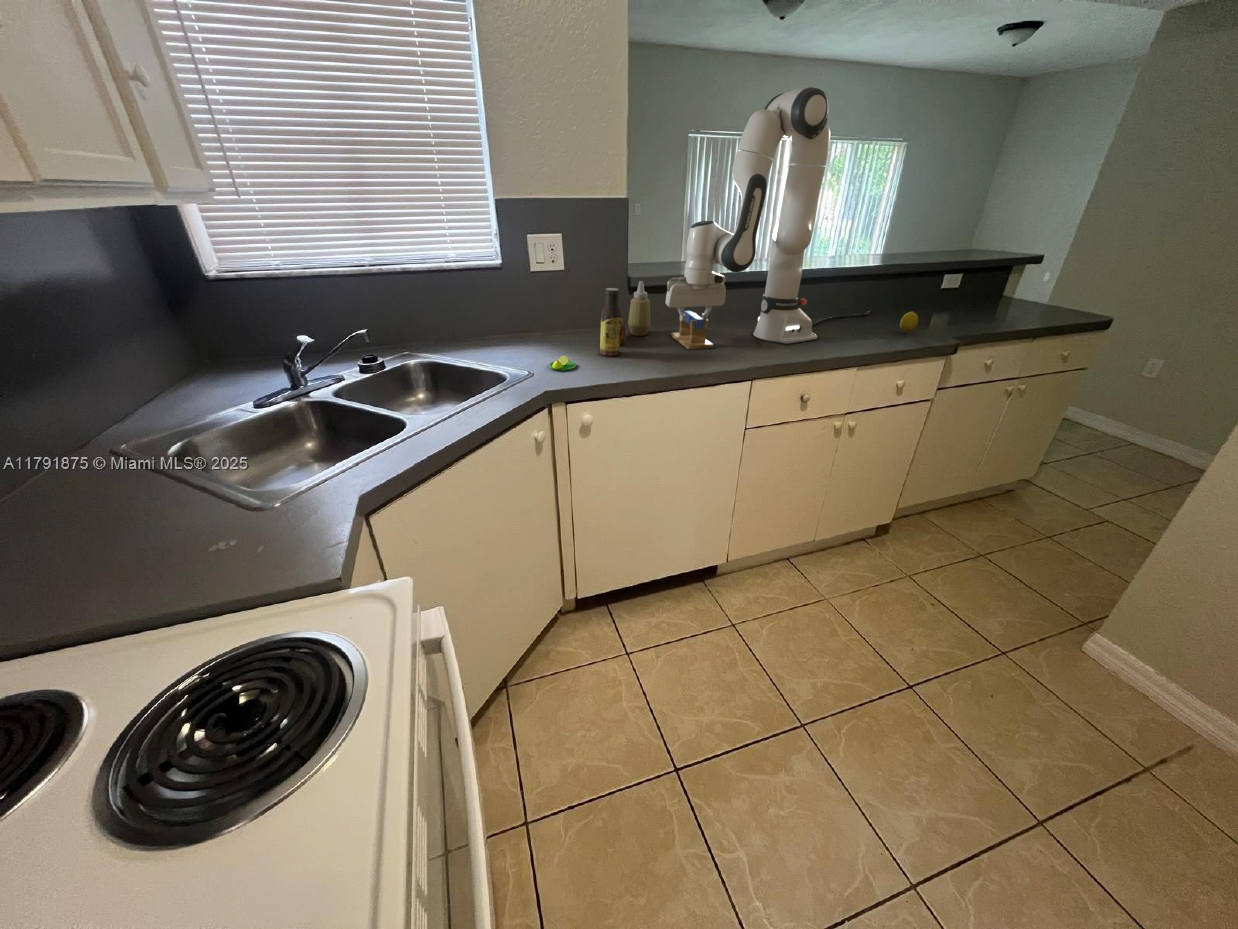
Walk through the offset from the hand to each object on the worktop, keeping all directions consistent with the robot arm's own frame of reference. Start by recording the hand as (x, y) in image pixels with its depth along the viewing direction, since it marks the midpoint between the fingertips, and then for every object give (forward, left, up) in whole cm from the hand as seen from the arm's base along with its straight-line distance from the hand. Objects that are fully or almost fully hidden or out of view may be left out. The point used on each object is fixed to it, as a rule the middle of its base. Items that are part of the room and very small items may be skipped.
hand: (693, 319), depth 164 cm
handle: (0, 0, -1) cm, 1 cm away
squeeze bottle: (+15, -13, -8) cm, 21 cm away
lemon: (-85, +6, -8) cm, 86 cm away
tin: (+26, -6, -8) cm, 28 cm away
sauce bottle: (+31, +7, -8) cm, 33 cm away
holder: (0, 0, -8) cm, 8 cm away
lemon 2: (+48, +16, -8) cm, 51 cm away
